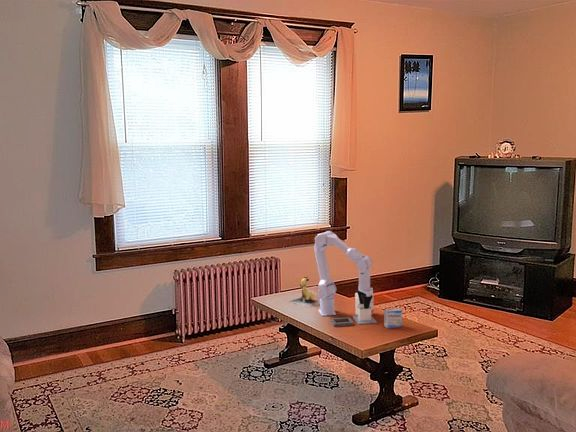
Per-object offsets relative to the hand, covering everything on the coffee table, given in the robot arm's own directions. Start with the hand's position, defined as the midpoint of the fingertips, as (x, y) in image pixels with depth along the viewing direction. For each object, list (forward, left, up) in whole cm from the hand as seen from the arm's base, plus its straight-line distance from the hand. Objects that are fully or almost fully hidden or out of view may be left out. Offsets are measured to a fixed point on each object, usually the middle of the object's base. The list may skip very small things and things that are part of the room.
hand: (364, 306), depth 289 cm
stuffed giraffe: (-38, -21, -8) cm, 44 cm away
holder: (+2, -12, -7) cm, 15 cm away
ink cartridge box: (-9, +3, -8) cm, 12 cm away
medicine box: (+12, +11, -8) cm, 18 cm away
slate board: (0, 0, -7) cm, 7 cm away
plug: (0, 0, -7) cm, 7 cm away
